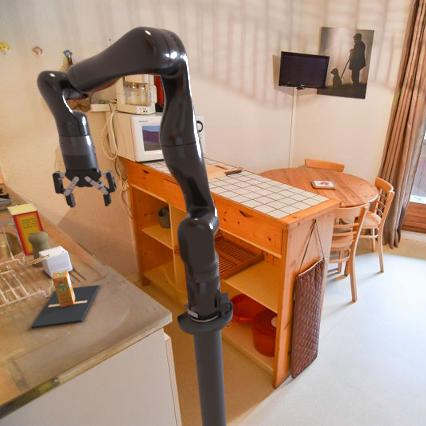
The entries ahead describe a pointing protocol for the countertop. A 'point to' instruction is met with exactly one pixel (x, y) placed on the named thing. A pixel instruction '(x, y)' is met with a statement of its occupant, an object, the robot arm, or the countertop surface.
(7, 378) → the countertop surface
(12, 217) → the baking soda box
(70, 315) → the slate mat
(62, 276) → the supplement box
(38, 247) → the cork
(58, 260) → the product carton
